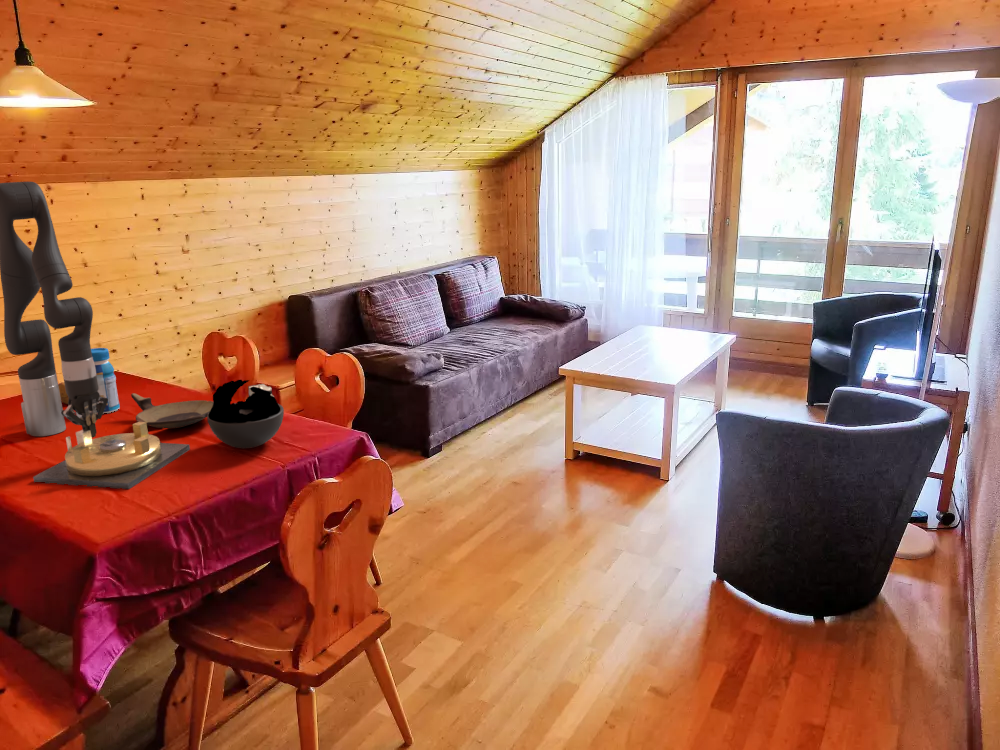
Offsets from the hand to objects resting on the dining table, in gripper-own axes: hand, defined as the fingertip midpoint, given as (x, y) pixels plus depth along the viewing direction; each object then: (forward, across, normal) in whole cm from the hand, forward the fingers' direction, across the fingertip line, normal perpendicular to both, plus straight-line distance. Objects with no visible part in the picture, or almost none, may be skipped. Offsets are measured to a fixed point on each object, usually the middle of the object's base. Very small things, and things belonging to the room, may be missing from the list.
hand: (90, 437), depth 195 cm
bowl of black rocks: (+6, +21, -34) cm, 40 cm away
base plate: (+6, -2, -10) cm, 12 cm away
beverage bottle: (+7, +31, +30) cm, 44 cm away
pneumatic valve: (+6, +39, -25) cm, 47 cm away
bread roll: (+8, +36, +49) cm, 61 cm away
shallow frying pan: (+7, +30, 0) cm, 30 cm away
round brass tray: (+4, -2, -10) cm, 11 cm away
